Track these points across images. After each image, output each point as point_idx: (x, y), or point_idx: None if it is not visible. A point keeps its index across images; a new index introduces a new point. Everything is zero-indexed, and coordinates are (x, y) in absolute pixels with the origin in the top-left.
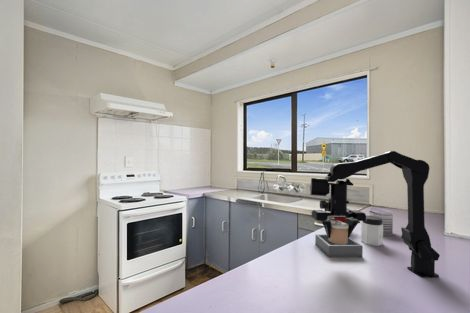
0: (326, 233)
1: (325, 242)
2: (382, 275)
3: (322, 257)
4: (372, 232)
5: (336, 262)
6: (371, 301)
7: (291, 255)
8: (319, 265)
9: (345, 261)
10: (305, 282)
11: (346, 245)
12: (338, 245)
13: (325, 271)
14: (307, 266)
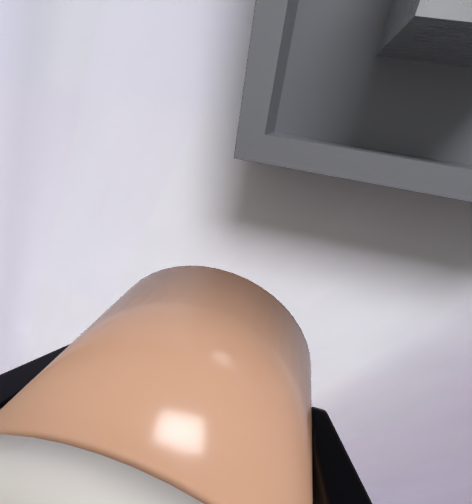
0: (29, 370)
1: (258, 44)
2: (396, 415)
3: (204, 147)
4: None
5: (255, 239)
6: None
7: (2, 75)
8: (133, 249)
9: (329, 240)
10: (31, 351)
11: (449, 185)
12: (351, 167)
13: None
14: (68, 244)
